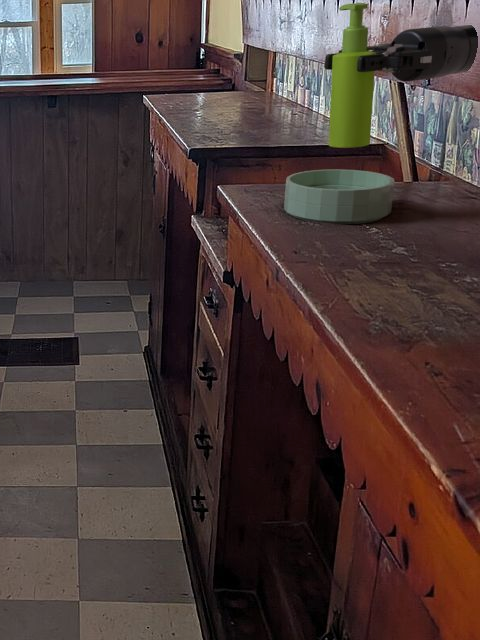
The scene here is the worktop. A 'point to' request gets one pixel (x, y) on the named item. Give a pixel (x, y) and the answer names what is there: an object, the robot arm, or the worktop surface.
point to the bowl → (339, 196)
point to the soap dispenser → (351, 86)
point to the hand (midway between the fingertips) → (343, 63)
